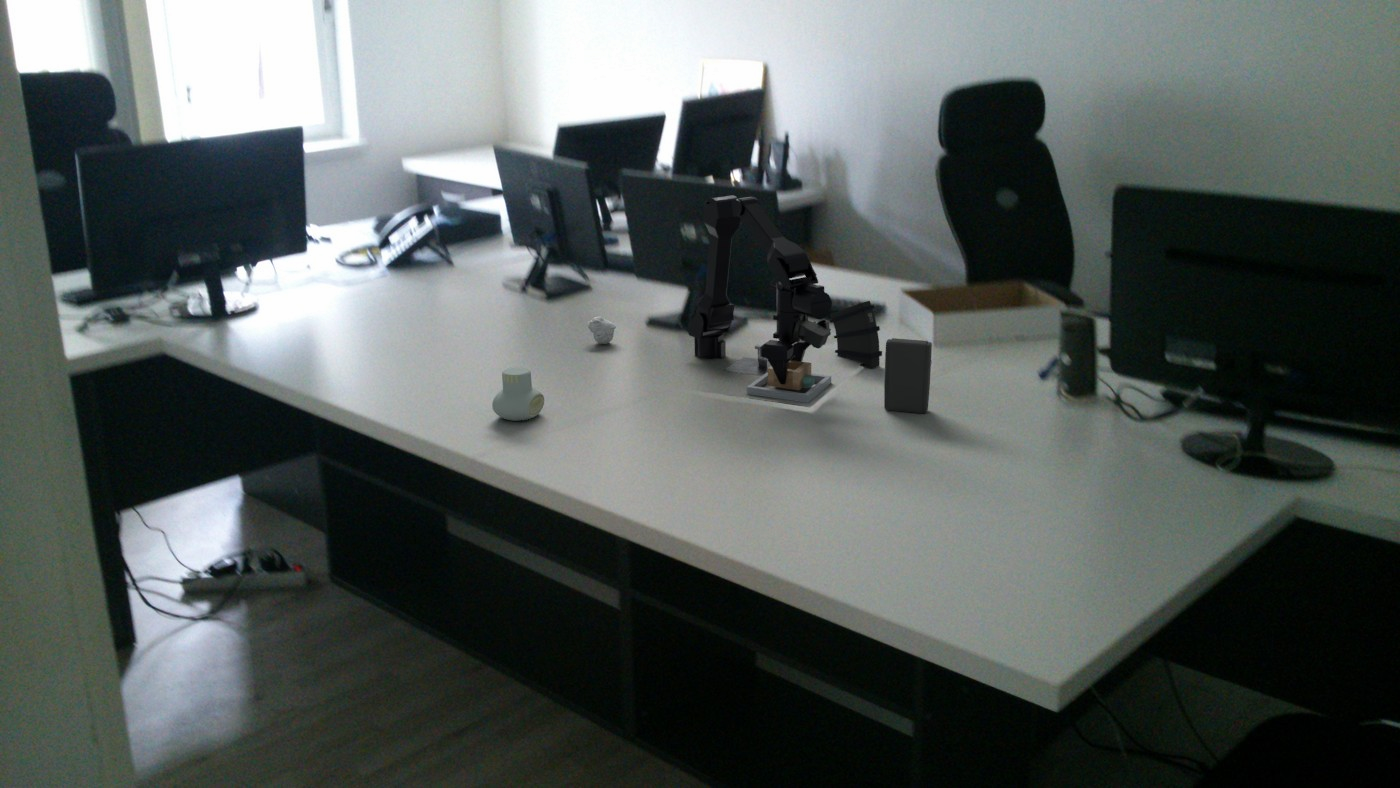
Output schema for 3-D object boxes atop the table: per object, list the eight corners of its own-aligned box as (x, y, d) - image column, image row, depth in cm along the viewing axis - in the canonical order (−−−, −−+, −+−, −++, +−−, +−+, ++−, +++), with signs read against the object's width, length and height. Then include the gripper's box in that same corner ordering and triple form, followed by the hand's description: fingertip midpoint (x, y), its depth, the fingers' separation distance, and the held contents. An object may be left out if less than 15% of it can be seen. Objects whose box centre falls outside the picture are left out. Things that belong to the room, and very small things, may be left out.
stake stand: (723, 374, 272) (723, 349, 270) (743, 361, 282) (743, 337, 280) (767, 380, 268) (767, 355, 266) (786, 366, 277) (786, 342, 275)
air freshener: (524, 427, 242) (521, 380, 239) (488, 423, 245) (485, 377, 242) (549, 410, 252) (546, 364, 249) (514, 406, 255) (511, 361, 251)
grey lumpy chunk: (588, 341, 299) (587, 314, 297) (616, 339, 300) (615, 312, 298) (588, 348, 294) (587, 320, 291) (617, 346, 294) (616, 319, 292)
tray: (746, 397, 257) (746, 386, 256) (772, 378, 269) (772, 368, 268) (807, 406, 251) (807, 395, 250) (831, 387, 263) (831, 376, 262)
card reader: (930, 409, 248) (933, 339, 243) (927, 415, 245) (930, 345, 240) (886, 404, 251) (889, 336, 246) (882, 411, 248) (885, 341, 243)
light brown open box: (805, 391, 254) (805, 373, 253) (767, 385, 258) (767, 368, 256) (818, 381, 260) (818, 363, 259) (780, 376, 264) (780, 358, 262)
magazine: (881, 365, 271) (861, 302, 271) (841, 377, 282) (822, 316, 282) (891, 362, 273) (872, 299, 274) (852, 374, 284) (833, 313, 284)
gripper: (809, 324, 242) (808, 396, 248) (841, 302, 258) (839, 371, 263) (758, 318, 247) (758, 389, 252) (793, 297, 263) (792, 364, 268)
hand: (789, 378), depth 259 cm, fingers closed on light brown open box, 7 cm apart
